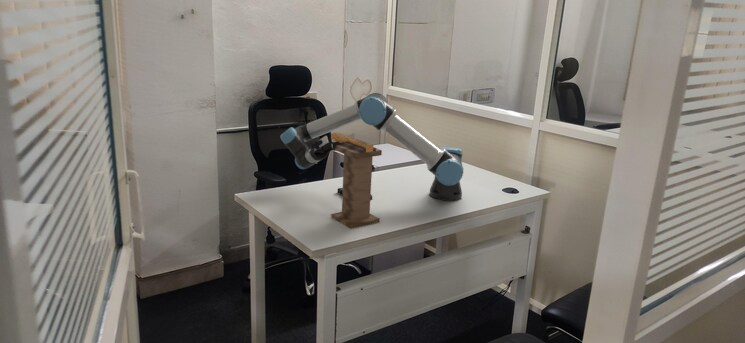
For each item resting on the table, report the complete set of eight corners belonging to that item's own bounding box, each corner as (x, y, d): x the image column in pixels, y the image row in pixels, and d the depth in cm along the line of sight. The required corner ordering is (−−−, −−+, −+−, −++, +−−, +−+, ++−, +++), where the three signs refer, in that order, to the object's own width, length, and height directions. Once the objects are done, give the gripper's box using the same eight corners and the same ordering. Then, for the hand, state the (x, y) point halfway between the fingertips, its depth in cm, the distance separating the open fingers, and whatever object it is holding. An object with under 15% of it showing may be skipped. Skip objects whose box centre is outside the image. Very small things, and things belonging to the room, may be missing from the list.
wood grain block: (331, 139, 222) (331, 133, 221) (338, 138, 224) (338, 132, 223) (365, 152, 204) (366, 146, 203) (373, 151, 206) (373, 145, 205)
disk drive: (336, 194, 250) (353, 203, 238) (336, 188, 249) (353, 197, 238) (355, 191, 256) (372, 200, 244) (356, 185, 255) (373, 194, 243)
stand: (331, 217, 220) (333, 142, 211) (359, 211, 228) (362, 139, 219) (351, 228, 209) (354, 150, 200) (379, 222, 217) (383, 146, 209)
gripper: (343, 157, 242) (368, 143, 225) (293, 164, 228) (317, 149, 211) (338, 141, 243) (363, 126, 226) (289, 147, 229) (312, 131, 212)
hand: (341, 137), depth 218 cm, fingers open, 13 cm apart
